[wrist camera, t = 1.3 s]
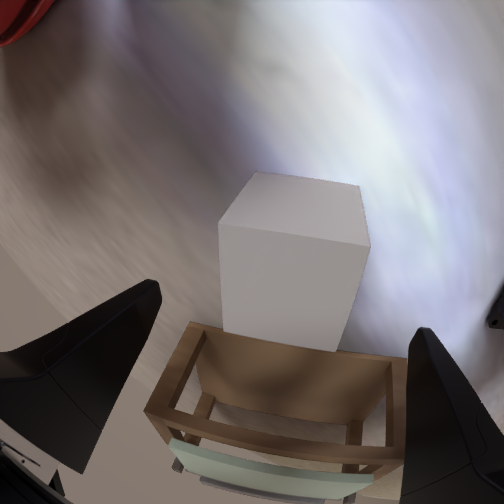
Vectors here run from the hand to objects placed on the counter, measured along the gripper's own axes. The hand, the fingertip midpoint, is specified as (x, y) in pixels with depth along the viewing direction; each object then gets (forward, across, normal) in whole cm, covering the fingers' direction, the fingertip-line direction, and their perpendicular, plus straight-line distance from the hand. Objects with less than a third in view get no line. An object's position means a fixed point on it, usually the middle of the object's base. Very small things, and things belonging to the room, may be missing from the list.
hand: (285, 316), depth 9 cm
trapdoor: (-2, -1, +15) cm, 15 cm away
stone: (+6, 0, 0) cm, 6 cm away
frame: (+6, -1, +14) cm, 15 cm away
